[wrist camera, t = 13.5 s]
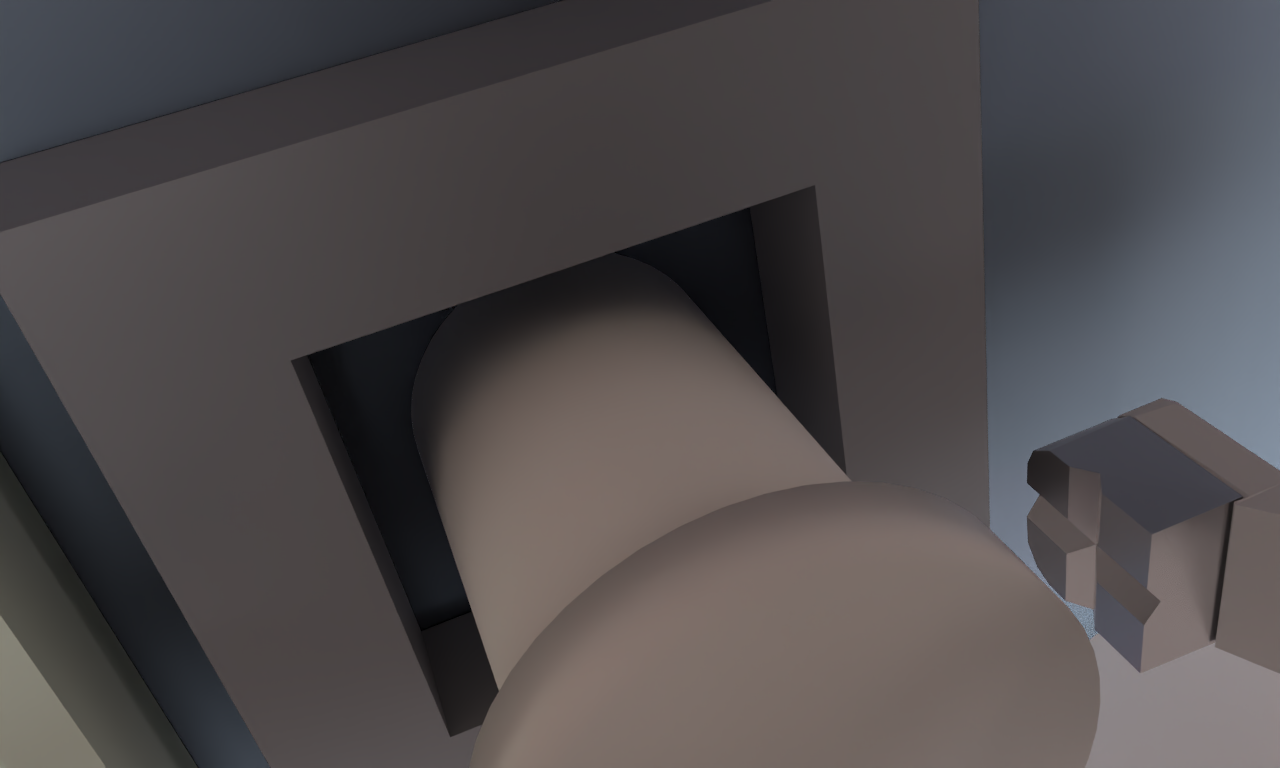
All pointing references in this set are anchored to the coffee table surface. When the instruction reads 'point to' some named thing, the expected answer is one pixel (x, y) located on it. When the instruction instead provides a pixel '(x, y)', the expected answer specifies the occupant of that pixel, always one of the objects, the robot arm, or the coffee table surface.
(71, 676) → the tray
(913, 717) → the plug
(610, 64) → the socket
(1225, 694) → the cylinder with rectangular tab
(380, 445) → the coffee table surface
